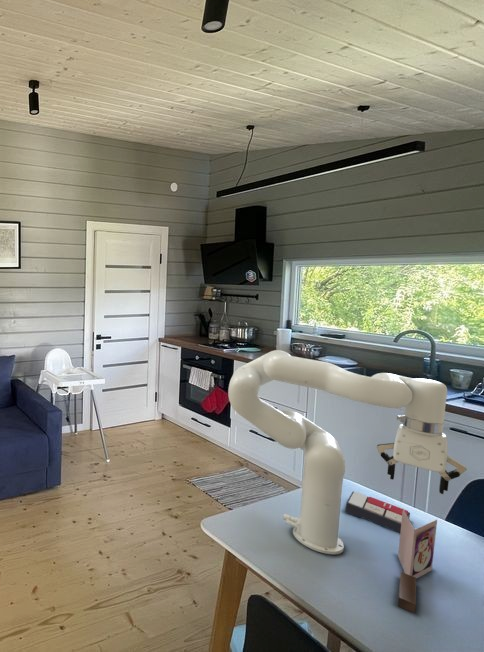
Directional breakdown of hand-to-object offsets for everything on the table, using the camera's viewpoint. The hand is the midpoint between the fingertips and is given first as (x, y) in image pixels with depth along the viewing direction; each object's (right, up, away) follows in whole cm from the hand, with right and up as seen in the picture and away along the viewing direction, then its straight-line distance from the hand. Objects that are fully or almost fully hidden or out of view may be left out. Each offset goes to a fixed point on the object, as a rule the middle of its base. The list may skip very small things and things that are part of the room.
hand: (415, 484), depth 109 cm
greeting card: (0, -25, +2) cm, 25 cm away
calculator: (+12, -23, +25) cm, 36 cm away
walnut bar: (-9, -26, -7) cm, 28 cm away
